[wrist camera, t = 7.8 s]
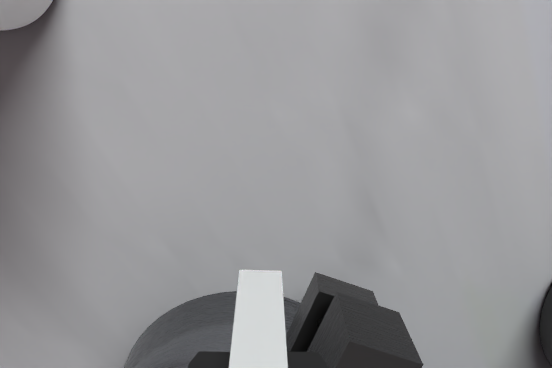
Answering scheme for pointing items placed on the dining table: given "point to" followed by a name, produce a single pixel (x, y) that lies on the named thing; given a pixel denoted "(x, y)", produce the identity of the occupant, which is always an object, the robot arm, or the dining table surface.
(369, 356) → the lid
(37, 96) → the dining table surface
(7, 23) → the water bottle
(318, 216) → the dining table surface
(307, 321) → the pot
